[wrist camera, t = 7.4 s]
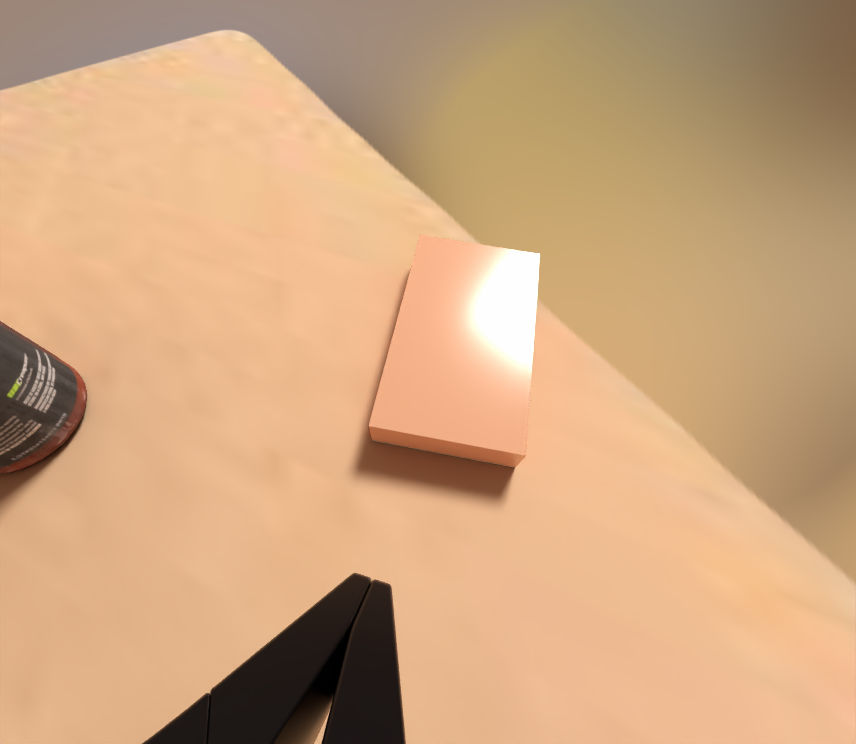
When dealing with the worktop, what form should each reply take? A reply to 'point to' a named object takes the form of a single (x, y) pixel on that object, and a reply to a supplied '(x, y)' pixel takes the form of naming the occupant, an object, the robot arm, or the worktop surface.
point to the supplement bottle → (35, 401)
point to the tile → (461, 354)
